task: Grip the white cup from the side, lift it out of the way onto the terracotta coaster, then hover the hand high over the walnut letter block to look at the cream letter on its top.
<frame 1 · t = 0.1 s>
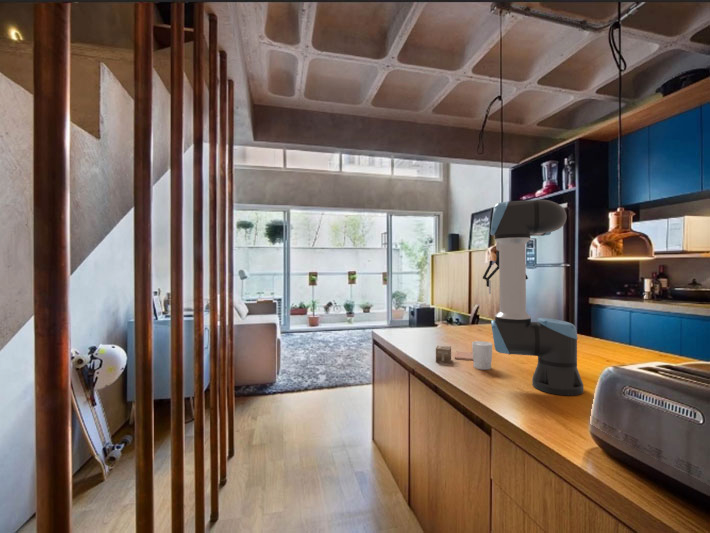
hand: (504, 293, 169), 28 cm above the countertop, tool pointing down, fingers open, 13 cm apart
white cup: (482, 367, 143), on the countertop
coaster: (468, 356, 159), on the countertop
letter block: (443, 361, 153), on the countertop
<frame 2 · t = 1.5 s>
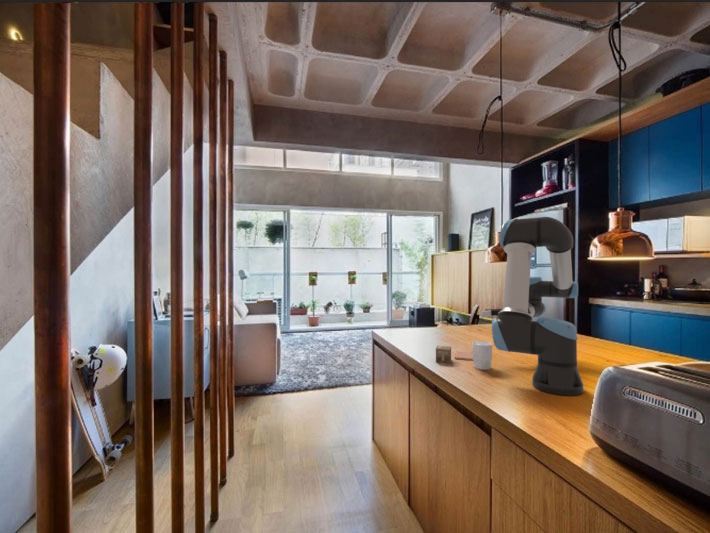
hand: (495, 316, 148), 20 cm above the countertop, tool horizontal, fingers open, 13 cm apart
nothing on the countertop moved.
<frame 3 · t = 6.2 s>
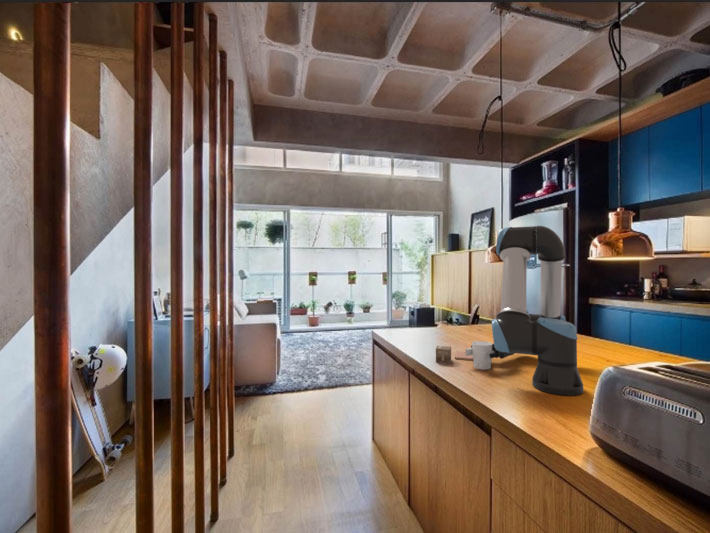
hand: (474, 354, 140), 6 cm above the countertop, tool horizontal, fingers closed on white cup, 7 cm apart
white cup: (482, 367, 143), on the countertop, touching gripper
everything else where it was.
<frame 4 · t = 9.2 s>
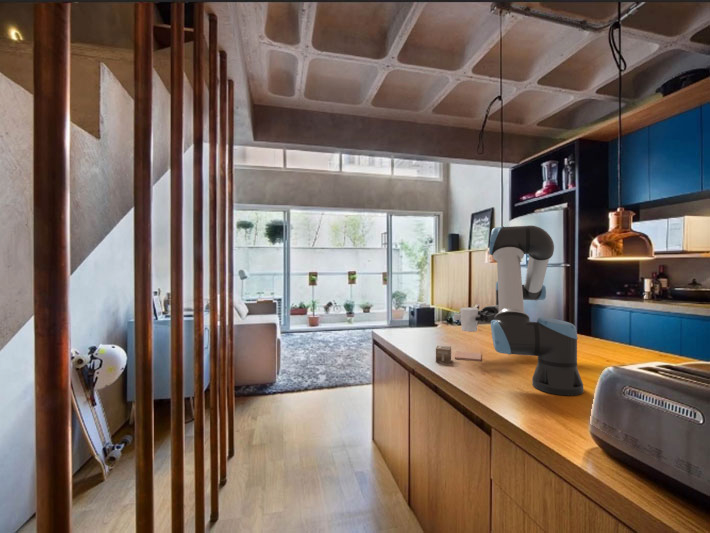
hand: (462, 318, 156), 18 cm above the countertop, tool horizontal, fingers closed on white cup, 7 cm apart
white cup: (469, 330, 158), point 12 cm above the countertop, touching gripper
everything else where it was.
when the fingers open (8 cm above the countertop, at t = 12.1 s): white cup drops 1 cm, resting on coaster.
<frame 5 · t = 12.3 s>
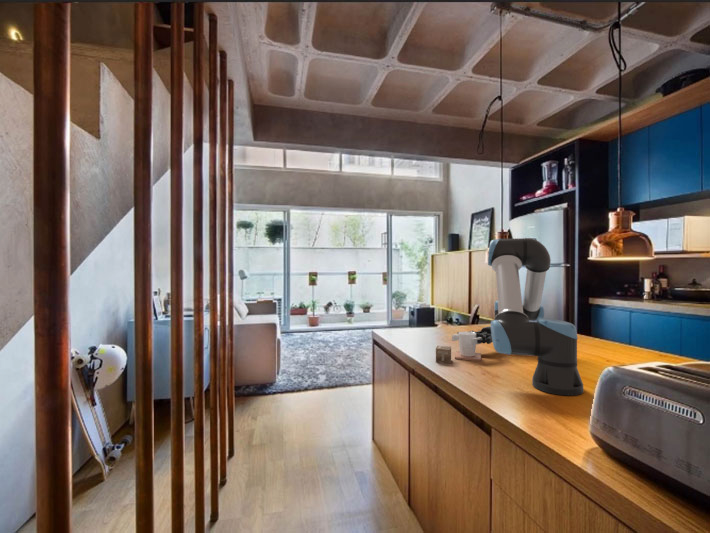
hand: (462, 340, 157), 8 cm above the countertop, tool horizontal, fingers open, 10 cm apart
white cup: (467, 355, 160), point 1 cm above the countertop, touching coaster
everything else where it was.
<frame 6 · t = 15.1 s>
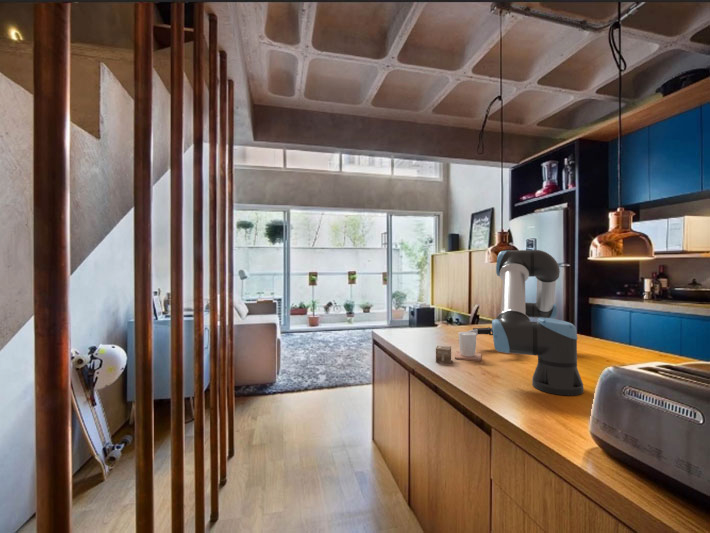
hand: (480, 335, 164), 8 cm above the countertop, tool horizontal, fingers open, 13 cm apart
nothing on the countertop moved.
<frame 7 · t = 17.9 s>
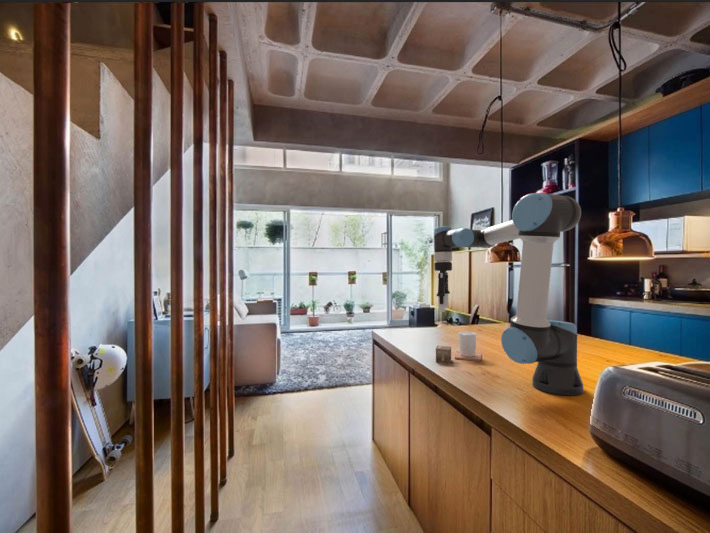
hand: (443, 309, 153), 22 cm above the countertop, tool pointing down, fingers open, 13 cm apart
nothing on the countertop moved.
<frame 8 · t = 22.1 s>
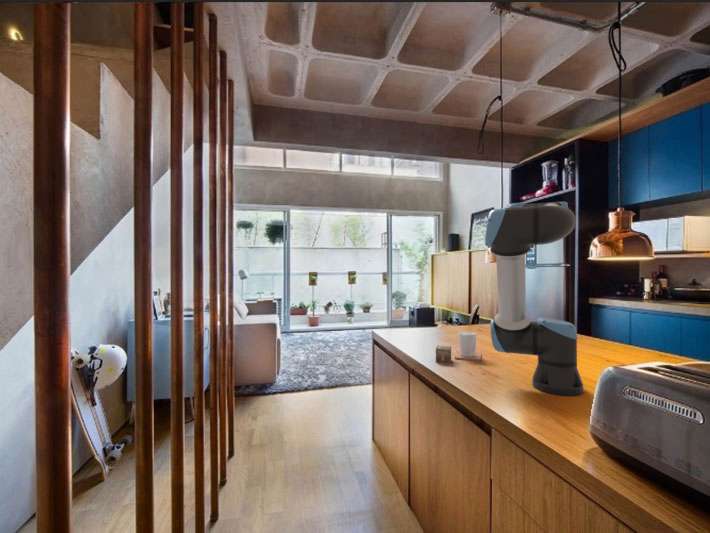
hand: (516, 288, 150), 32 cm above the countertop, tool pointing down, fingers open, 13 cm apart
nothing on the countertop moved.
at the end: white cup 0.4 cm off-centre on the coaster, point 0.6 cm above the coaster's base; white cup tilted 0°; letter block moved 0.1 cm from its start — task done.
